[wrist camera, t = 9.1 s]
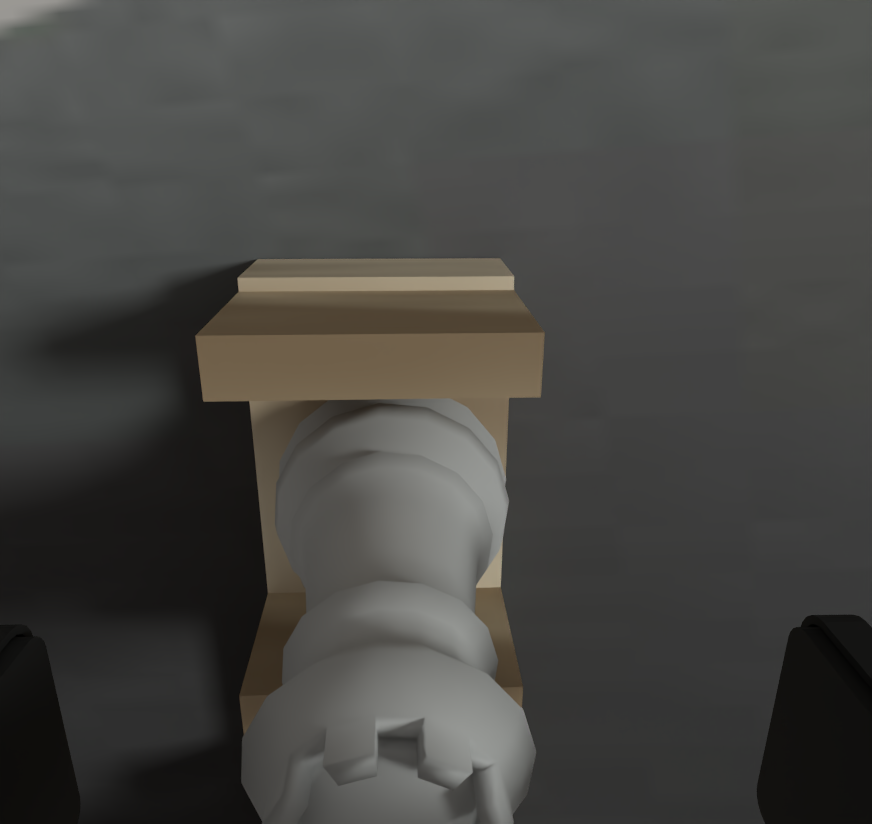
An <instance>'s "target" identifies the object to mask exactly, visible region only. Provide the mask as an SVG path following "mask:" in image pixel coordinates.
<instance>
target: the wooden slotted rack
mask: <svg viewBox="0 0 872 824" xmlns="http://www.w3.org/2000/svg"><path fill="white" fill-rule="evenodd" d="M238 289H239V292H238V293H237V294H236V295H235V296H234V297H233V298H232V299H231V300H230V301H229V302H228V303H227V304H226V305H225V306H224V307H223V308H222V309H221V310H220V311H219V312H218V313H217V314H216V315H215V316H214V317H213V318H212V319H211V320H210V321H209V322H208V323H207V324H206V325H205V326H204V327H203V328H202V329H201V330H200V331H199V332H198V333H197V334H196V335H195V338H196V346H197V354H198V362H199V371H200V379H201V387H202V395H203V402H219V401H249V402H250V413H251V423H252V433H253V444H254V454H255V464H256V475H257V485H258V495H259V506H260V516H261V526H262V537H263V547H264V557H265V568H266V578H267V588H268V595H267V599H266V602H265V606H264V609H263V613H262V616H261V620H260V624H259V627H258V631H257V634H256V638H255V641H254V645H253V648H252V652H251V656H250V659H249V663H248V666H247V670H246V673H245V677H244V681H243V684H242V688H241V691H240V695H239V699H240V707H241V715H242V724H243V732H244V734H245V733H246V731H247V729H248V728H249V726H250V724H251V723H252V721H253V719H254V717H255V716H256V714H257V712H258V711H259V709H260V707H261V706H262V704H263V702H264V700H265V699H266V697H267V696H268V695H270V694H271V693H273V692H274V691H275V690H277V689H278V688H280V687H281V686H282V685H283V684H282V668H283V648H284V646H285V645H286V643H287V641H288V640H289V638H290V636H291V634H292V633H293V631H294V629H295V628H296V626H297V624H298V622H299V621H300V619H301V617H302V616H303V615H305V614H306V588H305V587H304V586H303V584H302V581H301V579H300V577H299V576H298V575H297V574H296V573H295V572H294V571H293V569H292V567H291V565H290V562H289V560H288V558H287V556H286V553H285V551H284V549H283V546H282V544H281V542H280V539H279V537H278V535H277V531H276V527H275V503H276V482H277V480H278V479H279V467H280V459H281V457H282V455H283V454H284V452H285V450H286V448H287V446H288V444H289V442H290V440H291V438H292V436H293V434H294V432H295V431H296V429H297V427H298V425H299V423H300V422H302V421H303V420H304V419H305V418H307V417H308V416H309V415H310V414H312V413H313V412H314V411H315V410H317V409H318V408H319V407H321V406H322V405H323V404H324V403H326V402H327V401H328V400H370V399H445V398H450V399H452V400H454V401H456V402H458V403H460V404H462V405H464V406H466V407H468V408H469V410H470V411H471V412H472V413H473V414H474V415H475V417H476V418H477V419H478V420H479V421H480V423H481V424H482V425H483V426H484V427H485V428H486V430H487V431H488V432H489V433H490V434H491V436H492V437H493V438H494V439H495V441H496V445H497V448H498V452H499V455H500V459H501V462H502V466H503V470H504V473H505V475H506V452H507V429H508V407H509V398H520V397H541V384H542V367H543V351H544V335H545V332H544V331H543V330H542V328H541V327H540V326H539V324H538V323H537V321H536V320H535V319H534V317H533V316H532V315H531V313H530V312H529V310H528V309H527V308H526V306H525V305H524V304H523V302H522V301H521V299H520V298H519V297H518V295H517V294H516V293H515V291H514V275H513V274H512V273H511V272H510V270H509V269H508V268H507V267H506V265H505V264H504V263H503V262H502V260H501V259H500V258H437V259H257V260H256V261H255V262H254V263H253V264H252V265H251V266H250V267H249V268H248V269H246V270H245V271H244V272H243V273H242V274H241V275H240V276H239V277H238ZM502 543H503V539H502ZM502 543H501V547H500V550H499V552H498V553H497V555H496V556H495V558H494V559H493V561H492V562H491V564H490V565H489V567H488V568H487V570H486V571H485V573H484V574H483V576H482V577H481V579H480V580H479V582H478V583H477V585H476V599H475V615H476V616H477V617H478V618H479V619H480V620H481V621H482V622H483V623H484V624H485V625H486V626H487V627H488V630H489V633H490V636H491V639H492V642H493V645H494V648H495V651H496V655H497V658H498V665H497V671H496V677H495V682H496V683H497V684H498V685H499V686H500V687H501V688H502V689H503V690H504V691H505V692H506V693H507V694H508V695H509V696H510V697H511V698H512V699H513V700H514V701H515V702H516V703H517V704H518V705H519V706H520V707H521V708H522V695H523V685H522V680H521V676H520V671H519V667H518V663H517V658H516V654H515V649H514V645H513V640H512V636H511V631H510V627H509V623H508V618H507V614H506V609H505V605H504V600H503V596H502V591H501V566H502Z"/></svg>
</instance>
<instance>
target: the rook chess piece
mask: <svg viewBox="0 0 872 824" xmlns="http://www.w3.org/2000/svg"><path fill="white" fill-rule="evenodd" d="M505 482H506V477H505V473H504V470H503V466H502V462H501V459H500V455H499V452H498V448H497V445H496V441H495V439H494V438H493V437H492V436H491V434H490V433H489V432H488V431H487V430H486V428H485V427H484V426H483V425H482V424H481V423H480V421H479V420H478V419H477V418H476V417H475V415H474V414H473V413H472V412H471V411H470V410H469V408H468V407H466V406H464V405H462V404H460V403H458V402H456V401H454V400H452V399H450V398H445V399H370V400H328V401H327V402H326V403H324V404H323V405H322V406H321V407H319V408H318V409H317V410H315V411H314V412H313V413H312V414H310V415H309V416H308V417H307V418H305V419H304V420H303V421H302V422H300V423H299V425H298V427H297V429H296V431H295V432H294V434H293V436H292V438H291V440H290V442H289V444H288V446H287V448H286V450H285V452H284V454H283V455H282V457H281V459H280V467H279V479H278V480H277V482H276V503H275V527H276V531H277V535H278V537H279V539H280V542H281V544H282V546H283V549H284V551H285V553H286V556H287V558H288V560H289V562H290V565H291V567H292V569H293V571H294V572H295V573H296V574H297V575H298V576H299V577H300V579H301V581H302V584H303V586H304V587H305V588H306V614H305V615H303V616H302V617H301V619H300V621H299V622H298V624H297V626H296V628H295V629H294V631H293V633H292V634H291V636H290V638H289V640H288V641H287V643H286V645H285V646H284V648H283V668H282V684H283V685H282V686H281V687H280V688H278V689H277V690H275V691H274V692H273V693H271V694H270V695H268V696H267V697H266V699H265V700H264V702H263V704H262V706H261V707H260V709H259V711H258V712H257V714H256V716H255V717H254V719H253V721H252V723H251V724H250V726H249V728H248V729H247V731H246V733H245V734H244V736H243V738H242V770H241V783H242V785H243V787H244V789H245V791H246V792H247V794H248V796H249V798H250V800H251V802H252V804H253V805H254V807H255V809H256V811H257V813H258V815H259V817H260V818H261V820H262V824H514V821H513V815H512V814H513V813H514V812H515V810H516V809H517V808H518V806H519V805H520V803H521V802H522V801H523V799H524V798H525V796H526V795H527V793H528V788H529V784H530V779H531V774H532V770H533V765H534V760H535V756H536V749H535V746H534V743H533V739H532V736H531V733H530V730H529V727H528V723H527V720H526V717H525V714H524V711H523V709H522V708H521V707H520V706H519V705H518V704H517V703H516V702H515V701H514V700H513V699H512V698H511V697H510V696H509V695H508V694H507V693H506V692H505V691H504V690H503V689H502V688H501V687H500V686H499V685H498V684H497V683H496V682H495V677H496V671H497V665H498V658H497V655H496V651H495V648H494V645H493V642H492V639H491V636H490V633H489V630H488V627H487V626H486V625H485V624H484V623H483V622H482V621H481V620H480V619H479V618H478V617H477V616H476V615H475V599H476V585H477V583H478V582H479V580H480V579H481V577H482V576H483V574H484V573H485V571H486V570H487V568H488V567H489V565H490V564H491V562H492V561H493V559H494V558H495V556H496V555H497V553H498V552H499V550H500V547H501V543H502V539H503V533H504V527H505V521H506V515H507V509H508V503H509V499H508V495H507V492H506V488H505Z"/></svg>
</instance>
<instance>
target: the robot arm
mask: <svg viewBox="0 0 872 824" xmlns="http://www.w3.org/2000/svg"><path fill="white" fill-rule="evenodd" d="M757 799H758V805H759V808H760V812H761V815H762V817H763V819H764V822H765V824H872V627H871V626H870V625H869V624H868V623H867V622H866V621H865V620H863V619H862V618H861V617H860V616H856V615H811V616H808V617H806V618H805V619H804V621H803V622H802V625H801V627H796V628H793V629H792V631H791V632H790V635H789V637H788V642H787V647H786V652H785V656H784V661H783V666H782V671H781V675H780V680H779V685H778V689H777V694H776V699H775V704H774V708H773V713H772V718H771V723H770V727H769V732H768V737H767V741H766V746H765V751H764V756H763V760H762V765H761V770H760V775H759V779H758V784H757ZM79 813H80V795H79V791H78V786H77V782H76V778H75V773H74V769H73V764H72V760H71V756H70V751H69V747H68V742H67V738H66V733H65V729H64V725H63V720H62V716H61V711H60V707H59V702H58V698H57V694H56V689H55V685H54V680H53V676H52V671H51V667H50V663H49V658H48V654H47V649H46V646H45V643H44V641H43V640H42V638H40V637H33V635H32V633H31V631H30V629H29V628H28V627H27V626H24V625H0V824H77V822H78V819H79Z"/></svg>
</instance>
